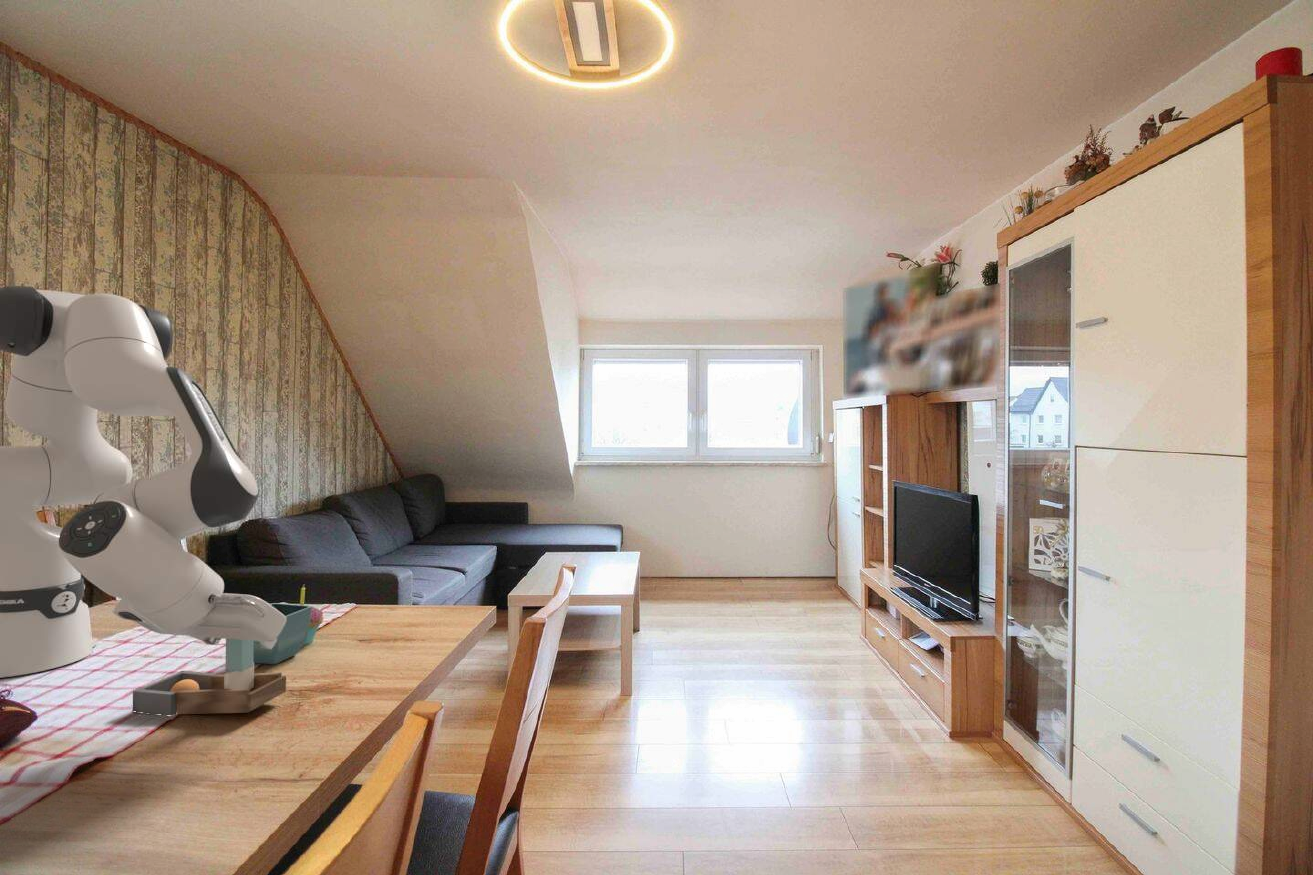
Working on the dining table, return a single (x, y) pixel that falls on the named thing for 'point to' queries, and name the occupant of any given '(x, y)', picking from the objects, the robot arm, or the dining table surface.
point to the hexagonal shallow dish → (231, 695)
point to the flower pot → (286, 635)
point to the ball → (185, 685)
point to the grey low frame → (166, 693)
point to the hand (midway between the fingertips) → (243, 642)
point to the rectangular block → (239, 664)
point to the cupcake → (311, 620)
